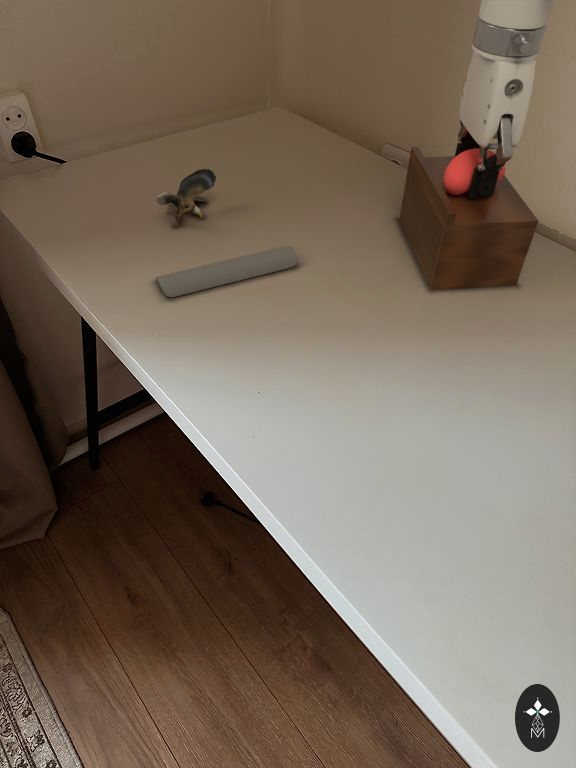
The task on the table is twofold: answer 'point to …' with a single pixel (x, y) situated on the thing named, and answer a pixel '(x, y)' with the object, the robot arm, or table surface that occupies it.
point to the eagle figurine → (188, 194)
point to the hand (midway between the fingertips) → (471, 182)
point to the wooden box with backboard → (464, 228)
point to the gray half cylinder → (227, 271)
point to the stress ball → (464, 171)
